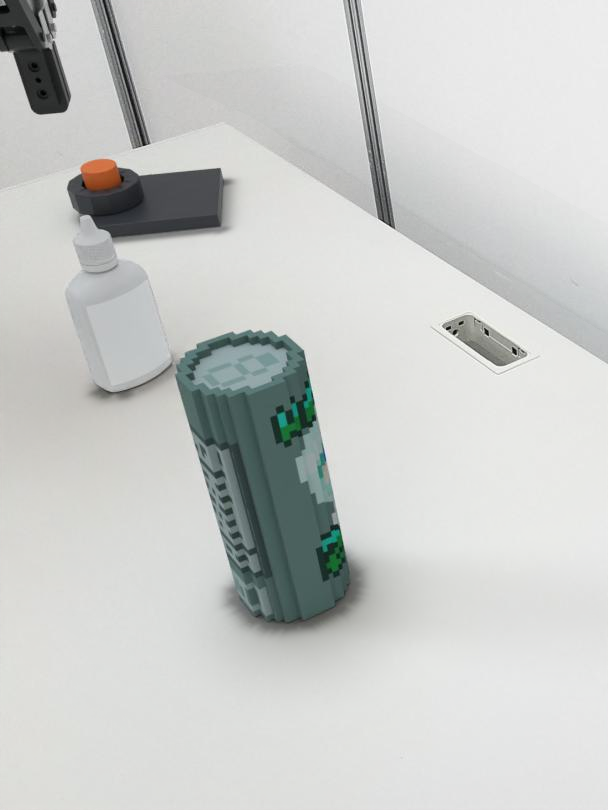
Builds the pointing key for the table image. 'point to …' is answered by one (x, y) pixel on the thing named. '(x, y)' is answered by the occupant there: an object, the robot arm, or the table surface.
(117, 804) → the table surface
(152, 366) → the eye dropper bottle
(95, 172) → the button
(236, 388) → the can
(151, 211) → the dark grey base plate
